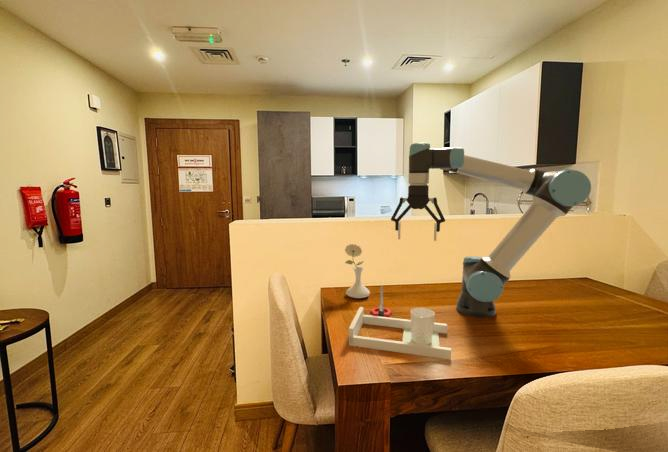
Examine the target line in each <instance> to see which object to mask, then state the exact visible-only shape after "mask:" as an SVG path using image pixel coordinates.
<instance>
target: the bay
mask: <svg viewBox="0 0 668 452" xmlns="http://www.w3.org/2000/svg"><path fill="white" fill-rule="evenodd" d="M364 309H365V308H364V307H363V306H359V308H358V310H357V312H356V314H355V315H354V317H353V319H352V321H351V323H350V325H349V327H348V346H349V347H350V346H351V347H357V346H358V348H364V349H365V348H366V349H373V350H379V351H386V352H394V353H402V354H408V355H415V356H422V357H423V356H424V357H429V358H430V357H431V358H436V359H437V358H438V359H444V360H449V361H451V360H452V348H451V347H448V346H447V347H446V346H440V338H439V334H448V324H447V323H444V322H443V323H442V322H434V327H433V335H432V342H431V343H430V344H427V345H424V344H417V343H415V342H413V341H412V339H411V319H406V318H405V319H404V318H396V317H381V316H373V314H372V315H371V314H365V313H364V312H365V311H364ZM363 325H371V326H372V325H373V326H379V327H380V326H381V327H388V328H398V329H403V335H402V341H400V340H393V339H386V338H377V337H368V336H361V335H359V334H360V331H361V329H362V326H363Z"/></svg>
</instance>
